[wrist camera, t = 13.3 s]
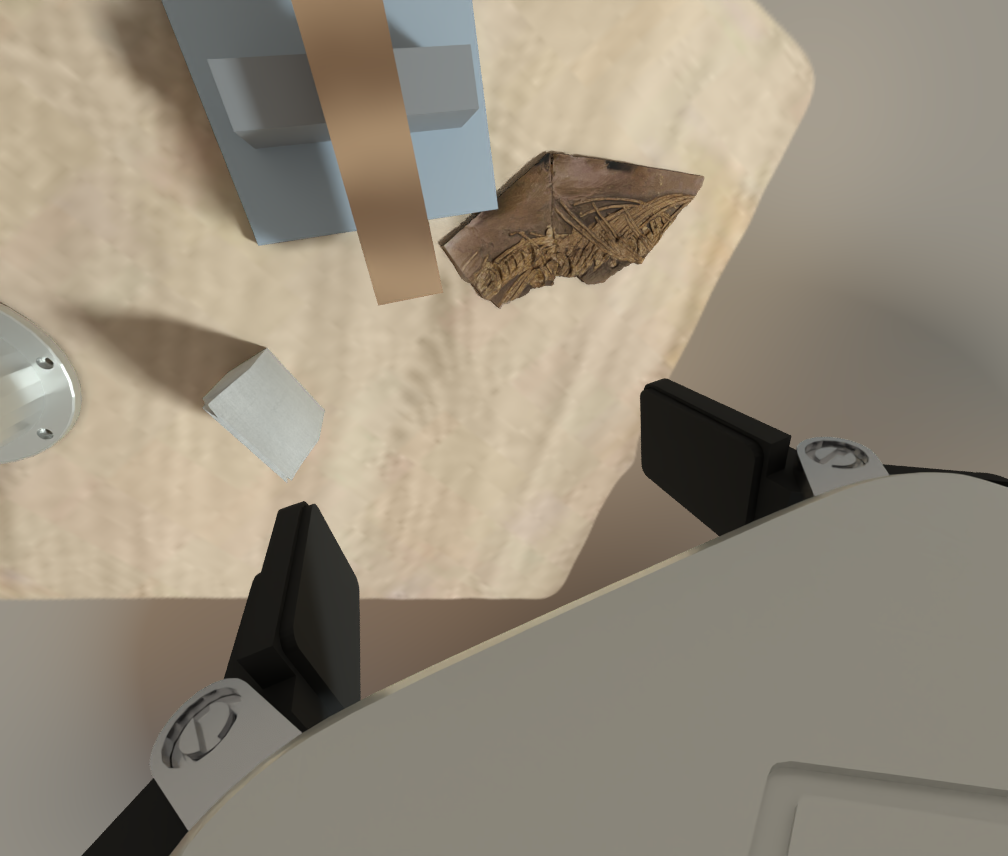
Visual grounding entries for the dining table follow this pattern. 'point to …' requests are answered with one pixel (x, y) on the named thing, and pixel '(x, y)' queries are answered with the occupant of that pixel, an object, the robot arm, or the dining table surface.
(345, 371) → the dining table surface
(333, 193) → the ridge stand
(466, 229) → the wooden fragment
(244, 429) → the grey pointed block
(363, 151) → the walnut bar
